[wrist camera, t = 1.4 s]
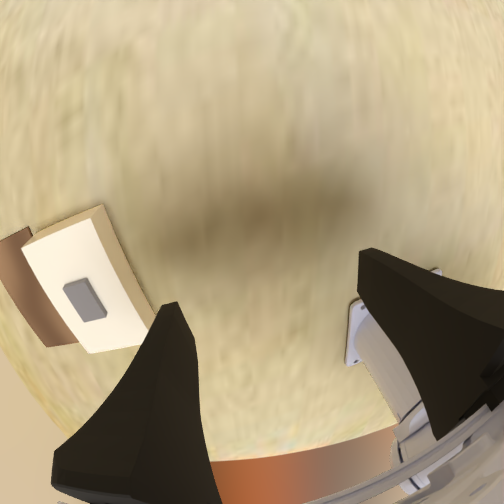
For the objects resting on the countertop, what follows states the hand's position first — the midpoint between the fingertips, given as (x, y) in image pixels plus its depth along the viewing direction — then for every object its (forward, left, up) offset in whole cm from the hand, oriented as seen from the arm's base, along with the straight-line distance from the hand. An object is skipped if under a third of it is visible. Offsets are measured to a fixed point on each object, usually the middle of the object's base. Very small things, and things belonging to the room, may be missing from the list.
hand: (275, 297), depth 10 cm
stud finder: (+9, 0, -6) cm, 11 cm away
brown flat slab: (+15, 0, -5) cm, 16 cm away
